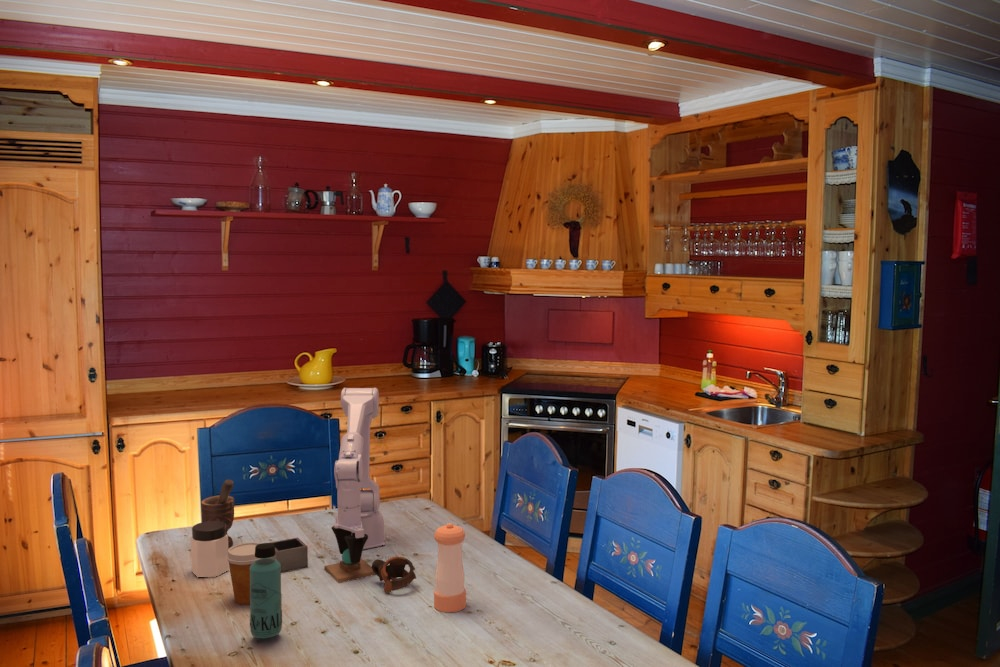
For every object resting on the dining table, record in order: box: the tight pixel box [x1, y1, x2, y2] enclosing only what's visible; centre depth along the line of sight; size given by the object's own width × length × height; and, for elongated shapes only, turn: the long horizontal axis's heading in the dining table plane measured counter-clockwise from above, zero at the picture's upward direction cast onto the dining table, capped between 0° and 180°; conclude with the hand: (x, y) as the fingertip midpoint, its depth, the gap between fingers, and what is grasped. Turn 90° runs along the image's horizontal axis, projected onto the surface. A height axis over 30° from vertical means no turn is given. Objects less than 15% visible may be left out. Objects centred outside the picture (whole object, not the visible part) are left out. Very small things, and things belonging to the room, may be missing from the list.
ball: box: [341, 549, 354, 565], centre depth 199 cm, size 4×4×4 cm
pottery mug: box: [370, 556, 417, 594], centre depth 190 cm, size 12×10×8 cm
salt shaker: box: [433, 522, 467, 613], centre depth 178 cm, size 7×7×19 cm
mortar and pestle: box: [200, 479, 235, 549], centre depth 216 cm, size 12×9×20 cm
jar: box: [190, 521, 230, 578], centre depth 199 cm, size 9×8×12 cm
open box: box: [269, 536, 309, 574], centre depth 203 cm, size 8×8×6 cm
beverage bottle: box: [248, 542, 283, 639], centre depth 162 cm, size 6×7×20 cm
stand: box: [323, 558, 376, 584], centre depth 199 cm, size 10×10×2 cm
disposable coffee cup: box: [226, 542, 263, 606], centre depth 182 cm, size 10×10×12 cm
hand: (349, 557), depth 199 cm, fingers open, 7 cm apart
